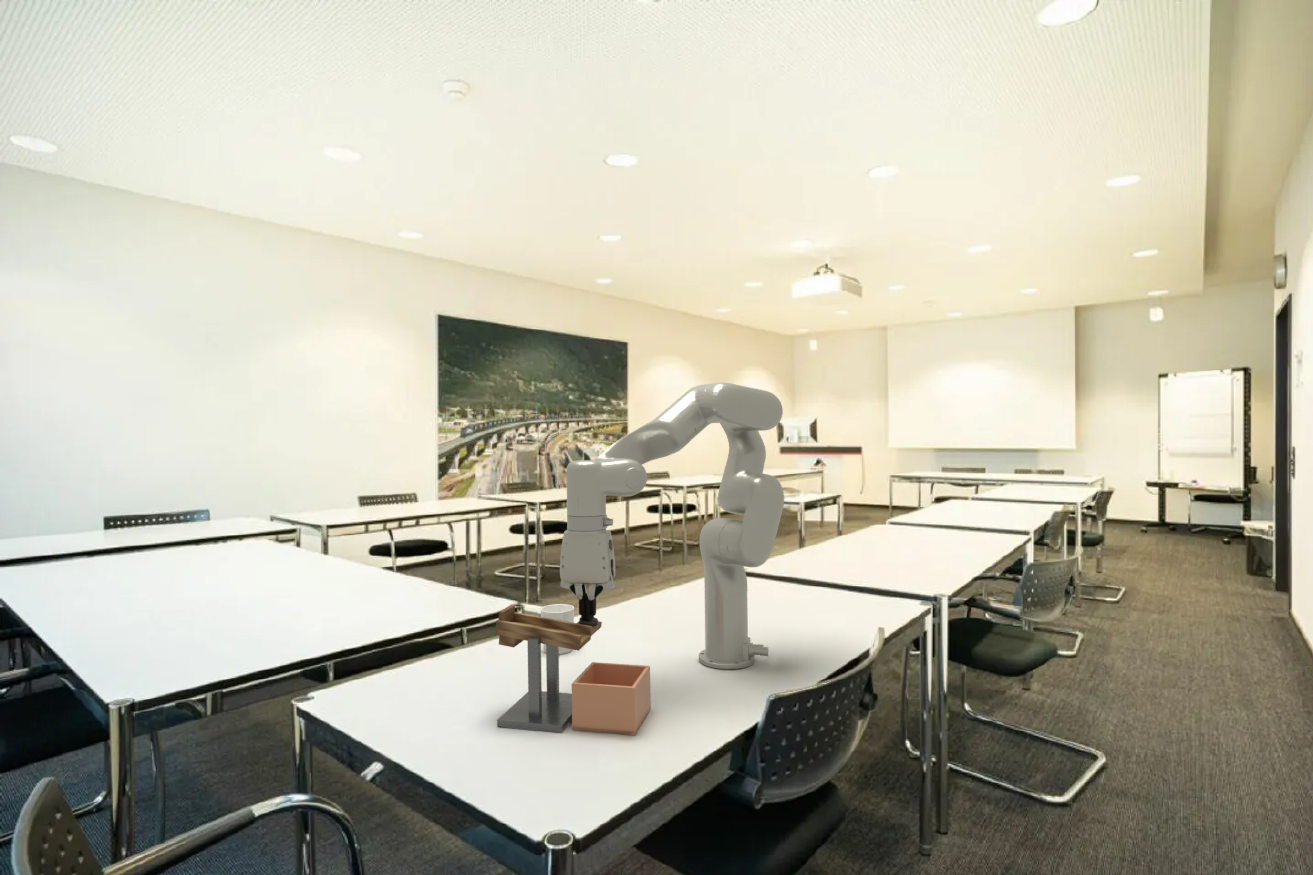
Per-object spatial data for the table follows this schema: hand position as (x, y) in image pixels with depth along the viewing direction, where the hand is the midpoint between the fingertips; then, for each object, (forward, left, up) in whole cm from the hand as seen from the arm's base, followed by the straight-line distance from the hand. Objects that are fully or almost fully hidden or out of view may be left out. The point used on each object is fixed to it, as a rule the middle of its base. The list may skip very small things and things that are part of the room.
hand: (587, 618), depth 132 cm
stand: (+5, +9, -15) cm, 18 cm away
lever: (+6, +5, -3) cm, 8 cm away
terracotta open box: (-8, +9, -15) cm, 19 cm away
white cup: (+16, -26, -16) cm, 35 cm away
